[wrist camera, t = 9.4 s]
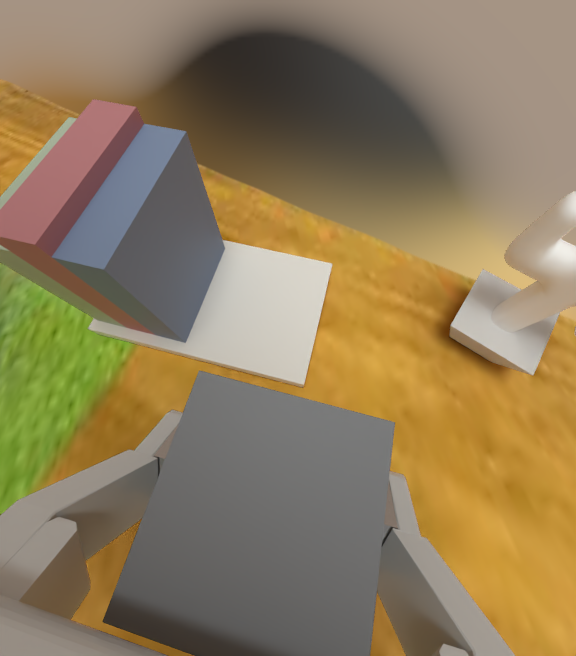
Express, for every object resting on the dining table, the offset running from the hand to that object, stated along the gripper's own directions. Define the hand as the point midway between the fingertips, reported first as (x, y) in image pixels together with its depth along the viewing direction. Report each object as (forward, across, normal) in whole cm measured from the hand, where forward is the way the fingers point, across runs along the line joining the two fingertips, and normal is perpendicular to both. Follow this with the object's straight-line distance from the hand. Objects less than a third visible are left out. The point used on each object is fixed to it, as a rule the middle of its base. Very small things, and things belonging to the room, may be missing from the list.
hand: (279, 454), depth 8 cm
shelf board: (+20, +10, +3) cm, 22 cm away
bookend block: (+3, 0, +4) cm, 4 cm away
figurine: (+22, -16, +1) cm, 27 cm away
